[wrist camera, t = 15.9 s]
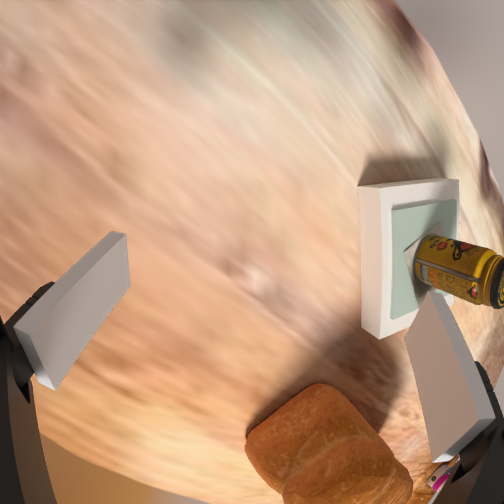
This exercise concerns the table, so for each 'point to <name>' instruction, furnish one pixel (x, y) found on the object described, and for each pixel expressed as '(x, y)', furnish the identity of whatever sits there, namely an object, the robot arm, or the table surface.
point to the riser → (399, 245)
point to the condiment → (455, 269)
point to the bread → (326, 453)
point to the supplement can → (438, 478)
